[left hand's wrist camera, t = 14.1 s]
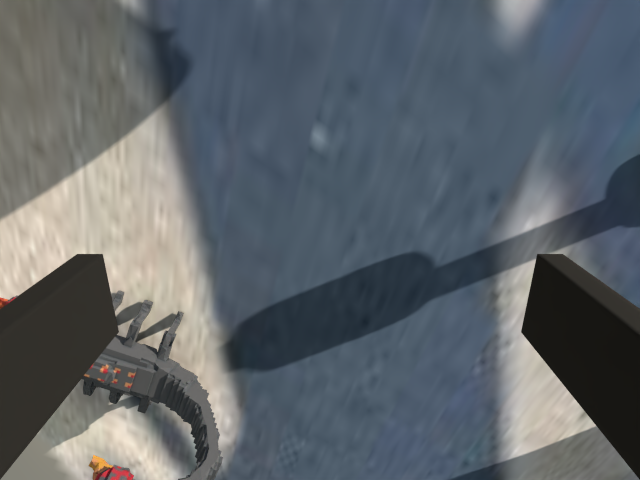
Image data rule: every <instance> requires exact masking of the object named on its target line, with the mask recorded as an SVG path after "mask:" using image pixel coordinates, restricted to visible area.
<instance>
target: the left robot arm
mask: <svg viewBox="0 0 640 480" xmlns="http://www.w3.org/2000/svg"><path fill="white" fill-rule="evenodd" d="M118 332H119V331H118V326H117V321H116V316H115V311H114V307H113V302H112V297H111V292H110V287H109V283H108V278H107V273H106V268H105V263H104V258H103V254H77V255H75V256H74V257H73V258H71V259H70V260H68V261H67V262H66V263H64V264H63V265H61V266H60V267H59V268H57V269H56V270H54V271H53V272H51V273H50V274H49V275H47V276H46V277H44V278H43V279H42V280H40V281H39V282H37V283H36V284H35V285H33V286H32V287H30V288H29V289H28V290H26V291H25V292H23V293H22V294H21V295H19V296H18V297H16V298H15V299H13V300H12V301H11V302H9V303H8V304H6V305H5V306H4V307H2V308H1V309H0V479H1V478H2V477H3V475H4V474H5V473H6V472H7V470H8V469H9V468H10V467H11V465H12V464H13V463H14V462H15V460H16V459H17V458H18V457H19V455H20V454H21V453H22V452H23V450H24V449H25V448H26V447H27V446H28V444H29V443H30V442H31V441H32V439H33V438H34V437H35V436H36V434H37V433H38V432H39V431H40V429H41V428H42V427H43V426H44V424H45V423H46V422H47V421H48V419H49V418H50V417H51V416H52V414H53V413H54V412H55V411H56V409H57V408H58V407H59V406H60V404H61V403H62V402H63V401H64V399H65V398H66V397H67V396H68V395H69V393H70V392H71V391H72V390H73V388H74V387H75V386H76V385H77V383H78V382H79V381H80V380H81V378H82V377H83V376H84V375H85V373H86V372H87V371H88V370H89V368H90V367H91V366H92V365H93V363H94V362H95V361H96V360H97V358H98V357H99V356H100V355H101V353H102V352H103V351H104V350H105V348H106V347H107V346H108V345H109V344H110V342H111V341H112V340H113V339H114V337H115V336H116V335H117V334H118ZM521 332H522V334H523V335H524V336H525V337H526V339H527V340H528V341H529V342H530V344H531V345H532V346H533V347H534V348H535V350H536V351H537V352H538V353H539V355H540V356H541V357H542V358H543V360H544V361H545V362H546V363H547V365H548V366H549V367H550V368H551V370H552V371H553V372H554V373H555V375H556V376H557V377H558V378H559V380H560V381H561V382H562V383H563V385H564V386H565V387H566V388H567V390H568V391H569V392H570V393H571V395H572V396H573V397H574V398H575V399H576V401H577V402H578V403H579V404H580V406H581V407H582V408H583V409H584V411H585V412H586V413H587V414H588V416H589V417H590V418H591V419H592V421H593V422H594V423H595V424H596V426H597V427H598V428H599V429H600V431H601V432H602V433H603V434H604V436H605V437H606V438H607V439H608V441H609V442H610V443H611V444H612V446H613V447H614V448H615V449H616V451H617V452H618V453H619V454H620V455H621V457H622V458H623V459H624V460H625V462H626V463H627V464H628V465H629V467H630V468H631V469H632V470H633V472H634V473H635V474H636V475H637V477H638V478H639V479H640V309H639V308H638V307H636V306H635V305H634V304H632V303H631V302H629V301H628V300H626V299H625V298H624V297H622V296H621V295H619V294H618V293H617V292H615V291H614V290H612V289H611V288H610V287H608V286H607V285H605V284H604V283H603V282H601V281H600V280H598V279H597V278H596V277H594V276H593V275H591V274H590V273H589V272H587V271H586V270H584V269H583V268H581V267H580V266H579V265H577V264H576V263H574V262H573V261H572V260H570V259H569V258H567V257H566V256H565V255H563V254H537V258H536V263H535V268H534V273H533V278H532V282H531V287H530V292H529V297H528V302H527V307H526V311H525V316H524V321H523V326H522V331H521Z"/></svg>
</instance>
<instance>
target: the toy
mask: <svg viewBox="0 0 640 480" xmlns="http://www.w3.org/2000/svg"><path fill="white" fill-rule="evenodd" d="M123 296H124V292H122V291H118V292H117V294H116V296H115V299H114V301H113V307H114V311H115V310H116V309H117V308H118V306H119V305H120V304H121V303H122V299H123ZM16 297H18V296H15V297H12V298H11V299H10V300H7V299H3V298H0V309H1V308H2V307H4V306H5V305H6V304H8V303H9V302H11V301H12V300H13V299H15V298H16ZM152 304H153V302H150V301H148V300H145V301H144V302H143V304H142V306H141V309H140V311H139V313H138V315H137V316H136V317H135V319H134V320H133V321H132V323H131V324H130V327H129V330H128V333H127V337H126V338H124V337H121V336H118V335H116V336H115V337H114V339H113V340H112V341H111V342H110V344H109V345H108V346H107V347H106V348H105V350H104V351H103V352H102V353H101V355H100V356H99V357H98V358H97V360H96V361H95V362H94V363H93V365H92V366H91V367H90V368H89V370H88V371H87V372H86V373H85V375H84V376H83V377H82V378H81V379H84V386H83V393H84V394H85V395H89V396H90V395H91V394H92V393H93V391H94V390H95V388H96V387H101V388H104V389H108V390H110V396H109V400H110V402H111V403H114V404H116V403H117V402H118V401H119V399H120V397H121V396H122V395H123V394H125V395H133V396H136V397H140V398H141V401H140V404H139V407H138V411H139V412H142V413H145V412H146V410H147V408H148V406H149V404H150V405H151V403H152V401H153V402H155V403H159V402H161V403H164V404H166V407H169V408H170V410H172V411H175V412H176V413H177V414H178V415H179V416H181V418H182V419H184V420H183V421H184V422H188V423H189V424H191V427H192V431H191V434H192V435H193V437H194V438H195V440H194V443H195V444H196V446H195V449H197V452H196V455H195V457H196V458H197V462H196V463H198V464H197V466H196V469H195V470H192V472H191V474H190V475H187V476H186V478H181V479H178V480H211V479H212V480H214V478H215V476H216V474H217V472H218V470H219V467H220V465H221V463H222V459H223V457H220V454H221V451H220V450H218V439H219V435H220V434H219V432H218V429H217V428H216V424H217V423H214V421H215V418H213V415H214V413H213V412H211V411H212V409H211V408H210V406H211V404H210V403H209V402H208V400H207V397H208V395H209V393H207V390H204V389H202V387H201V386H200V385H201V384H200V383H198V381H197V378H198V377H197V376H196V375H194V373H192V372H190V371H188V370H186V369H184V368H182V367H181V366H180V364H179V363H177V362H175V361H173V360H171V359H169V354H170V351H171V347H172V343H173V341H174V339H175V336H176V334H175V331H176V329H177V328H178V326H179V324H180V322H181V319H182V316H183V313H182V312H179V311H178V313H177V316H176V318H175V320H174V322H173V324H172V326H171V327H170V329H169V331H165V333H164V335H163V338H162V342H161V343H160V346H159V350H158V352H157V349H155V348H153V347H150V346H148V345H145V344H142V345H141V344H139V343H137V342H135V340H136V338H137V335H138V333H139V330H140V327H141V325H142V322H143V321H144V319H145V318H146V317H147V315H148V314H149V312H150V310H151V307H152ZM89 466H90V467H92V468H93V470H94V473H93V480H132V479H133V476H134V475H132V474H131V473H130V470H129V468H122V467H119V466H116V465H114V466H111V465H108V463H107V462H106V461H105V460H104V459H102V458H99V457H97V456H95V455H93V459H92V461H91V463H90V464H89Z"/></svg>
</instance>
